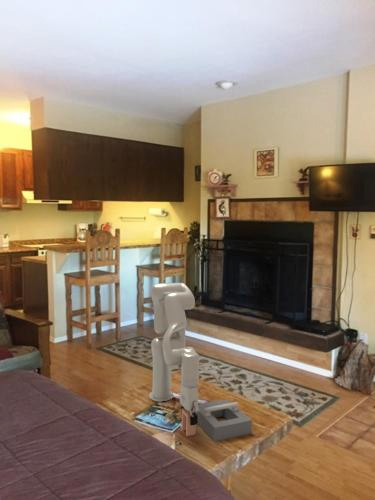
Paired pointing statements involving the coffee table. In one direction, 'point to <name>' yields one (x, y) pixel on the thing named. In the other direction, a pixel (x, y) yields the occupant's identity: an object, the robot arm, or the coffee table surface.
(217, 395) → the coffee table surface
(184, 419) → the clip
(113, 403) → the coffee table surface
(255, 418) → the coffee table surface
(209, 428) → the grey rectangular frame
